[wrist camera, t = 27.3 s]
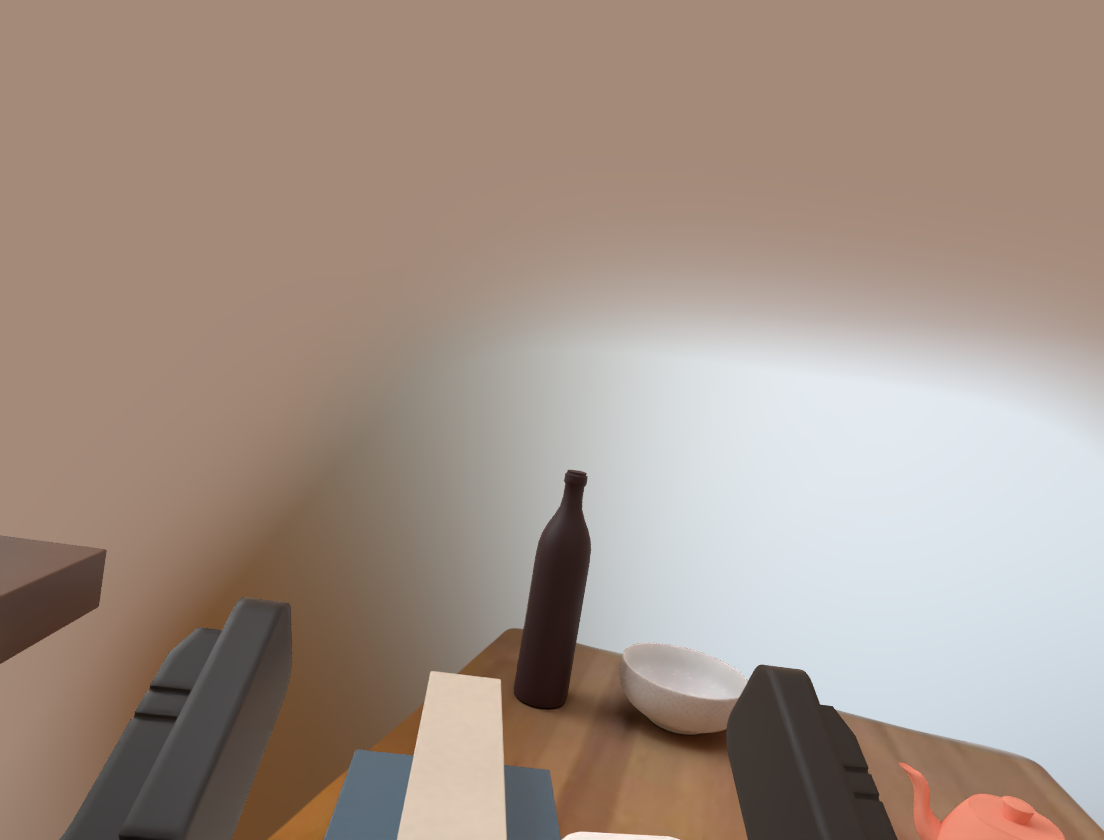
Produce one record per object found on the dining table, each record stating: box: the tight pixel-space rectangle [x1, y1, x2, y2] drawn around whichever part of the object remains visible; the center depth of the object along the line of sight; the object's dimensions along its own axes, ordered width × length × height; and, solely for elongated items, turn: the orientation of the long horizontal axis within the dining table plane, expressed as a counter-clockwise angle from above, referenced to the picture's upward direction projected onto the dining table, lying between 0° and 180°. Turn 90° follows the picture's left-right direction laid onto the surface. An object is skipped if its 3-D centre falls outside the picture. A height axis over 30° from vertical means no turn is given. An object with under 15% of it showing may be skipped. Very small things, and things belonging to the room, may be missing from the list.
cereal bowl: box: [620, 643, 748, 735], centre depth 88 cm, size 17×17×7 cm
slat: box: [397, 671, 507, 840], centre depth 28 cm, size 4×20×2 cm, turn 5°
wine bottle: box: [514, 470, 591, 708], centre depth 88 cm, size 7×7×30 cm
